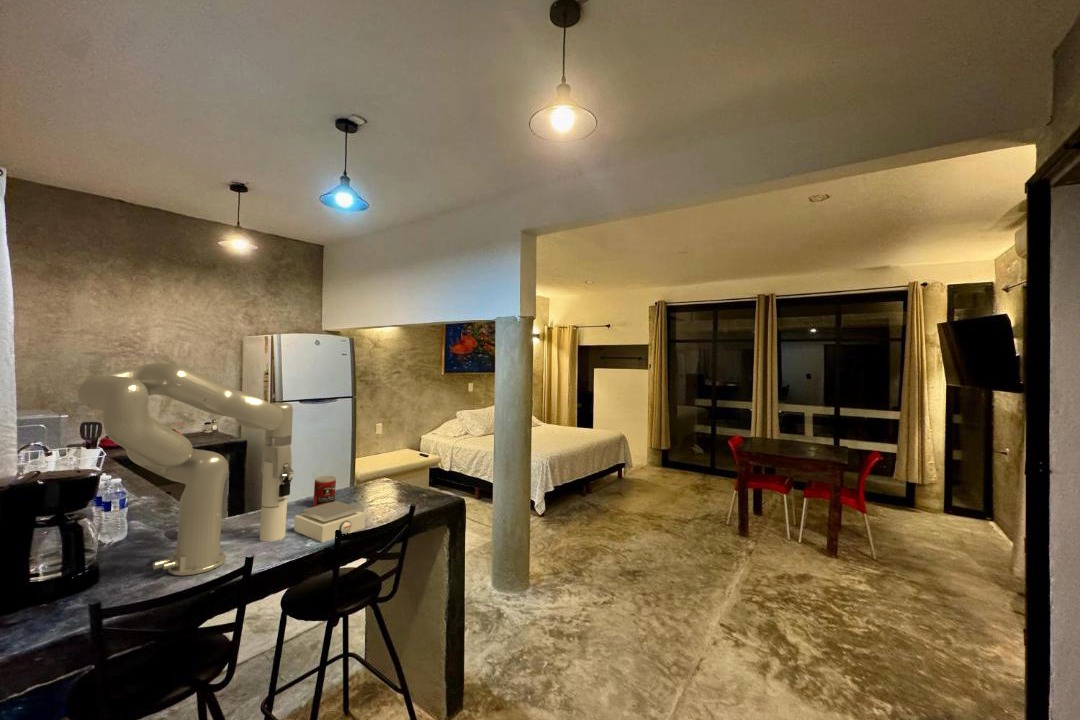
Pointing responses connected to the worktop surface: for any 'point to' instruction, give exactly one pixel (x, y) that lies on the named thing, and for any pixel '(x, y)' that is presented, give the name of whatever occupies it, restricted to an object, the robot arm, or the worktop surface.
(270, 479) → the cylindrical container
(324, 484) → the canned food
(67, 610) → the worktop surface
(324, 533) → the scale base
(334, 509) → the scale pan
